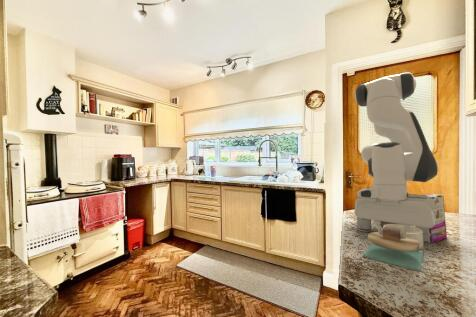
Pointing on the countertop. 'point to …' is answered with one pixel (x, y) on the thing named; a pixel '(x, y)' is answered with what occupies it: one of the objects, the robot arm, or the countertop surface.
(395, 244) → the oak lid
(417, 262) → the rubber mat
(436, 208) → the candy bar box
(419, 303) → the countertop surface
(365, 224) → the energy drink
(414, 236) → the ceramic bowl
